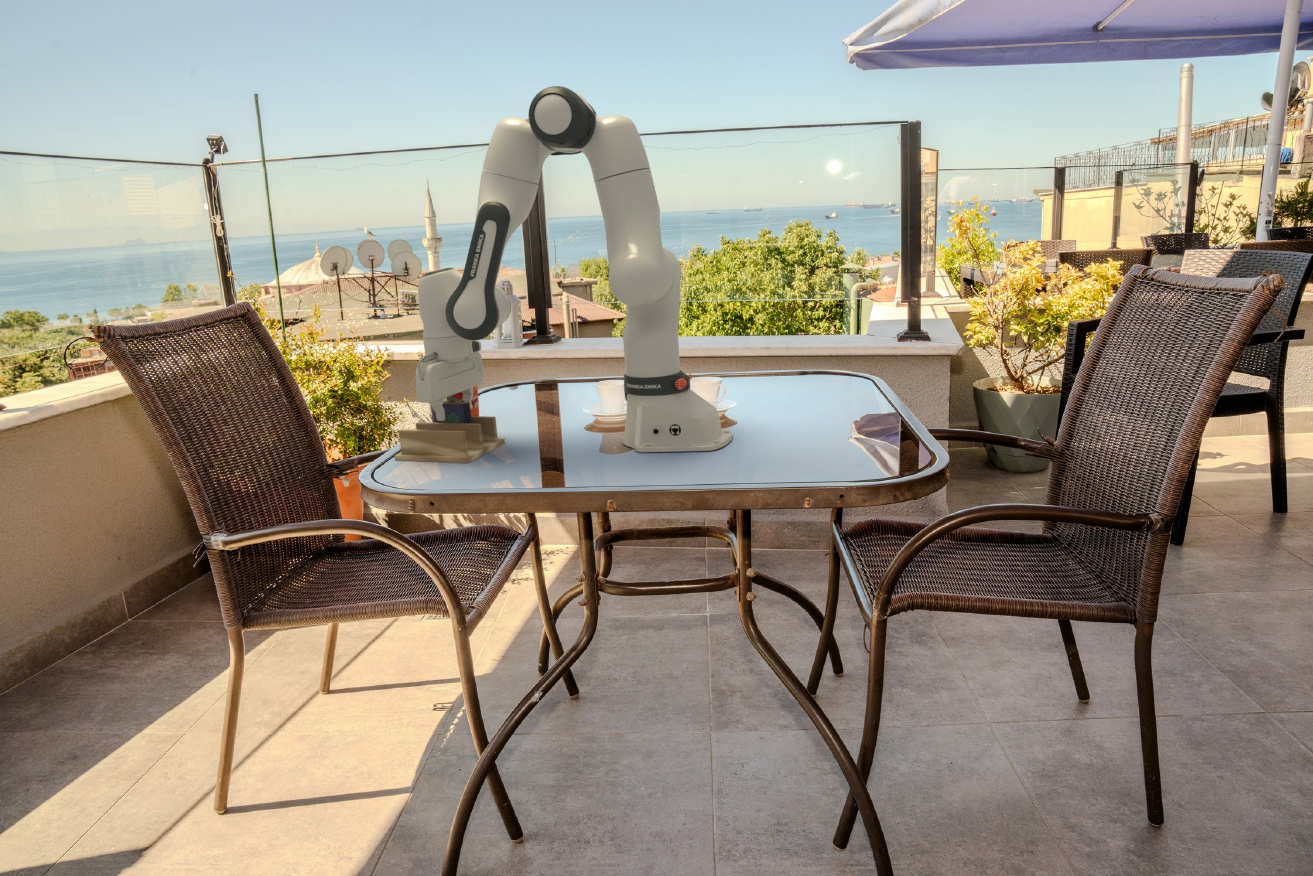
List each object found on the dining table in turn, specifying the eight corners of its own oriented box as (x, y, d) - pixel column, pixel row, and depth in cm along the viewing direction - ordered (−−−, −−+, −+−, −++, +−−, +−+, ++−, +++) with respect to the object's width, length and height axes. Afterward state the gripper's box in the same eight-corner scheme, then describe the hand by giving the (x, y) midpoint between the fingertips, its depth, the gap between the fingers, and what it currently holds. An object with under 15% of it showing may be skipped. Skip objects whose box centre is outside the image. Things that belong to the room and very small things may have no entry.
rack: (436, 440, 190) (432, 414, 188) (504, 443, 184) (501, 415, 183) (395, 460, 176) (391, 431, 175) (467, 463, 171) (464, 433, 169)
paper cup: (476, 427, 200) (469, 367, 196) (445, 427, 202) (437, 368, 198) (489, 419, 207) (482, 361, 204) (459, 419, 209) (452, 362, 205)
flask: (433, 444, 183) (426, 394, 180) (441, 440, 186) (435, 391, 183) (471, 445, 180) (465, 395, 177) (478, 442, 183) (472, 392, 180)
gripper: (431, 357, 167) (440, 427, 171) (485, 341, 186) (492, 404, 189) (403, 358, 169) (413, 426, 173) (459, 341, 188) (467, 403, 191)
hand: (454, 414), depth 181 cm, fingers open, 8 cm apart
